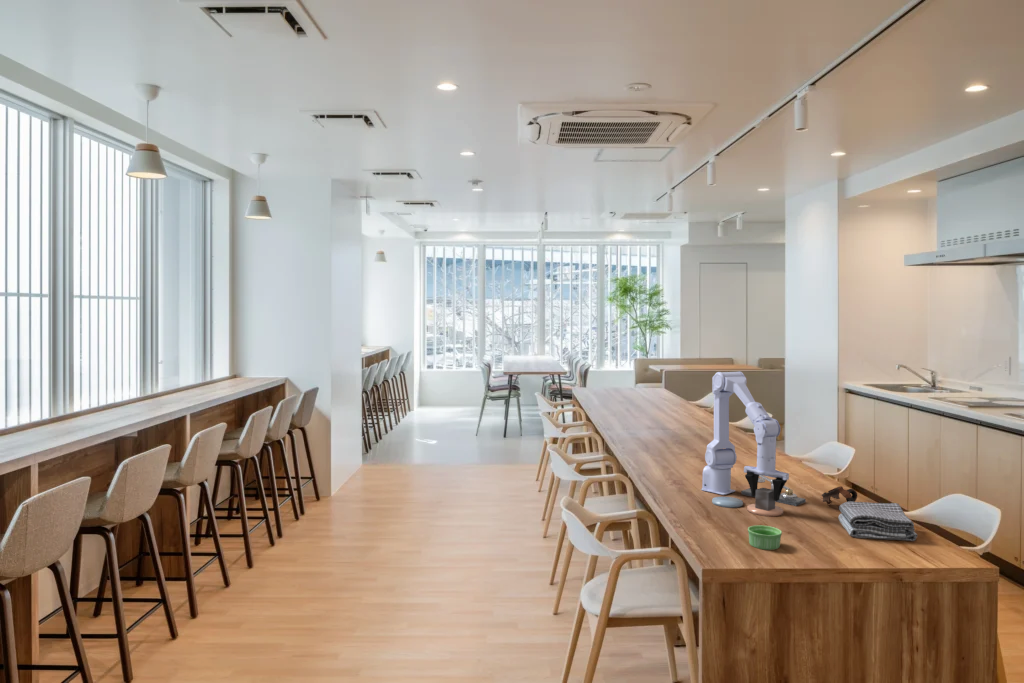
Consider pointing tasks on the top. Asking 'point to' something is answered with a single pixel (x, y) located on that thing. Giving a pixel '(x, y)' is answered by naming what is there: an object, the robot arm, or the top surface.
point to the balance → (784, 497)
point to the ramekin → (764, 537)
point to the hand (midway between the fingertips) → (765, 497)
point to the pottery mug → (835, 494)
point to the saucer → (727, 502)
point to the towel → (876, 521)
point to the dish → (773, 512)
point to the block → (764, 499)
